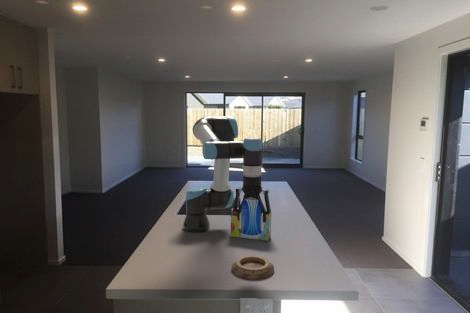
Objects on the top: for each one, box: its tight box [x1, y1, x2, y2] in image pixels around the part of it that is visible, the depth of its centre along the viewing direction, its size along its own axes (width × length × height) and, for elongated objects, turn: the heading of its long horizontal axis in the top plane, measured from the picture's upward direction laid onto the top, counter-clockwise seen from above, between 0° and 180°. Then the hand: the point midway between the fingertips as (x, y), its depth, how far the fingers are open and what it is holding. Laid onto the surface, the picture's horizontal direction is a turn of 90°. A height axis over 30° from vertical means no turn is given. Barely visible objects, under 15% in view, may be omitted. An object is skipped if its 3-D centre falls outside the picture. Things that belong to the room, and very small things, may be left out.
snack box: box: [230, 208, 272, 242], centre depth 187 cm, size 21×6×15 cm, turn 71°
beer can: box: [241, 197, 262, 239], centre depth 147 cm, size 8×8×16 cm
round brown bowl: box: [231, 254, 275, 281], centre depth 150 cm, size 18×18×3 cm
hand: (251, 228), depth 148 cm, fingers closed on beer can, 8 cm apart
